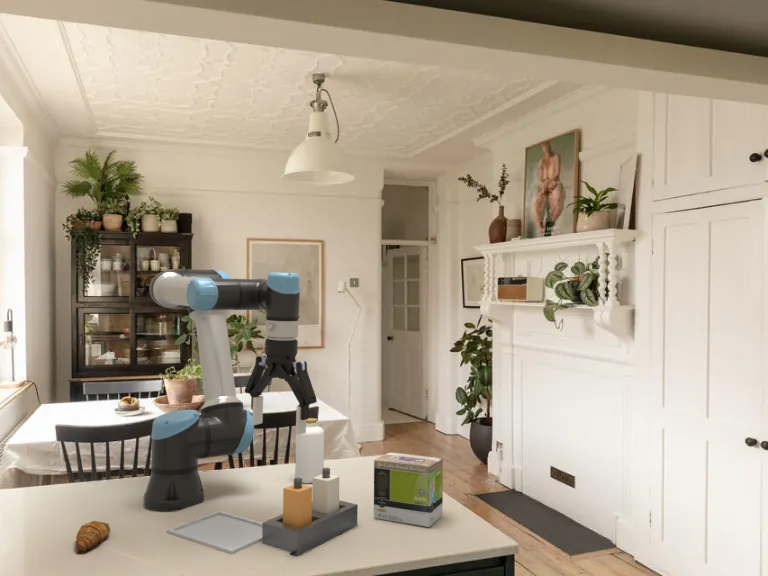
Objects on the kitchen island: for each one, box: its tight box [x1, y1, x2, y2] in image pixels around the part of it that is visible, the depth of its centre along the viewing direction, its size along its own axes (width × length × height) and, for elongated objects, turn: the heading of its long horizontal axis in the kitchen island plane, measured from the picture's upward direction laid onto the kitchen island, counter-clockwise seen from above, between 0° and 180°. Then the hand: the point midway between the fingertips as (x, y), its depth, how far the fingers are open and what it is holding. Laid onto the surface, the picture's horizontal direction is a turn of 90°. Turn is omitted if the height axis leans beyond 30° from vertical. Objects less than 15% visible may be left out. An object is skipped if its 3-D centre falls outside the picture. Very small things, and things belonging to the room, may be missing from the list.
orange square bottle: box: [282, 477, 312, 528], centre depth 143 cm, size 4×4×12 cm
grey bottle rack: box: [261, 499, 359, 557], centre depth 147 cm, size 10×22×5 cm, turn 147°
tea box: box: [373, 451, 444, 528], centre depth 160 cm, size 15×10×15 cm, turn 65°
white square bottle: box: [311, 467, 340, 514], centre depth 152 cm, size 4×4×12 cm
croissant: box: [75, 520, 112, 554], centre depth 142 cm, size 14×7×5 cm, turn 2°
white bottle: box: [294, 417, 325, 484], centre depth 190 cm, size 8×8×18 cm
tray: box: [165, 510, 264, 555], centre depth 147 cm, size 21×16×1 cm
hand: (278, 428), depth 151 cm, fingers open, 13 cm apart
